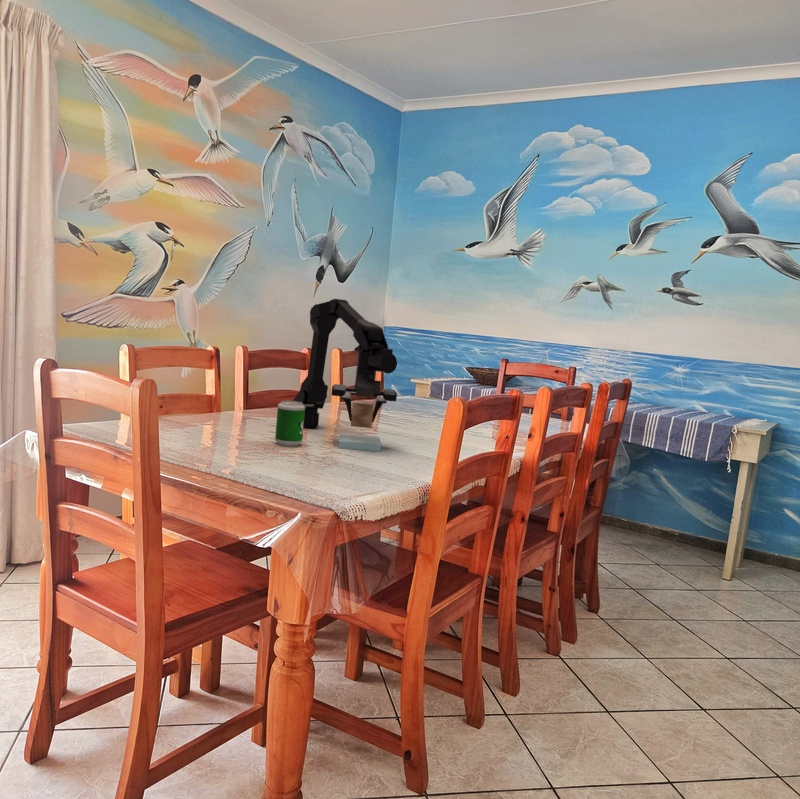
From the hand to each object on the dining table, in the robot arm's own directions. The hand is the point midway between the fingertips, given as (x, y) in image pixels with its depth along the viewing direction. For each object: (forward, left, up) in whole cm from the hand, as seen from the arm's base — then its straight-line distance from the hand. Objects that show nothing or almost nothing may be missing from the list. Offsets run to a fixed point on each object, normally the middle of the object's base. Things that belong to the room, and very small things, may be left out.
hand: (361, 421), depth 202 cm
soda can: (-20, -7, -7) cm, 22 cm away
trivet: (0, 0, -7) cm, 7 cm away
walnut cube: (0, 0, -1) cm, 1 cm away
